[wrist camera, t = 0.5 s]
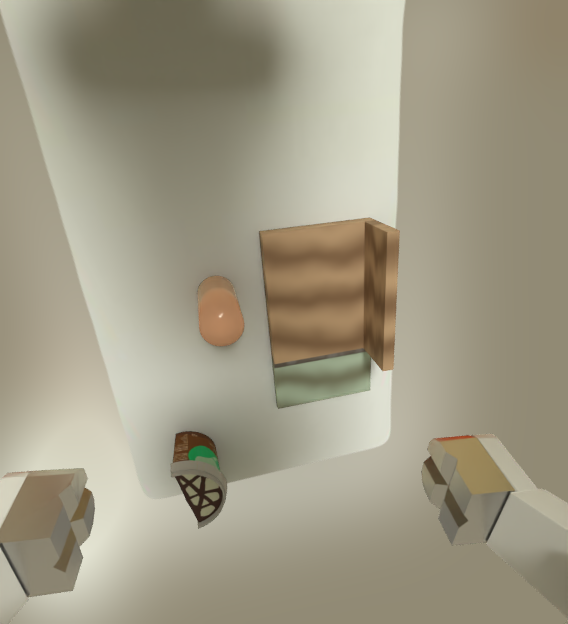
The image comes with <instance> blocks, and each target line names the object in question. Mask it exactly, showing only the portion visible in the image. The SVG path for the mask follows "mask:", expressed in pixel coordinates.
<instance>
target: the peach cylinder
mask: <svg viewBox="0 0 568 624" xmlns="http://www.w3.org/2000/svg"><path fill="white" fill-rule="evenodd" d="M197 295H198V313H199V329H200V333H201V335H202V337H203V338H204V339H205V340H206V341H207V342H208V343H210V344H212V345H215V346H226V345H230V344H232V343H234V342H235V341H237V340H238V339H239V338H240V336H241V335H242V333H243V330H244V320H243V317H242V313H241V310H240V307H239V303H238V300H237V297H236V293H235V290H234V287H233V285H232V283H231V282H230V281H229V280H228V279H226V278H224V277H221V276H211V277H208V278H206V279H205V280H204V281H202V283H201V284H200V285H199V288H198V293H197Z"/></svg>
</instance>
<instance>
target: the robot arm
mask: <svg viewBox="0 0 568 624" xmlns="http://www.w3.org/2000/svg"><path fill="white" fill-rule="evenodd" d="M427 450H428V452H429V453H430V455H431V456H430V457H429V458H428V459H427V460H425V461H424V463H423V467H422V471H421V473H422V483H423V487H424V490H425V493H426V495H427V497H428V499H429V501H430V502H431V503H432V504H434V505H435V506H436V507H438V508H439V509H440V512H439V518H438V519H439V521H440V523H441V525H442V527H443V529H444V531H445V533H446V534H447V537H448V539H449V541H450V543H451V545H452V546H453V545H464V544H476V543H487V544H486V545H487V546H488V547H489V548H490V549H492V550H493V551H494V552H495V553H496V554H497V555H498V556H499V557H500V558H502V559H503V560H504V561H505V562H506V563H507V564H508V565H509V566H510V567H512V568H513V569H514V570H515V571H516V572H517V573H518V574H519V575H521V577H523V578H524V579H525V580H526V581H527V582H528V583H529V584H530V585H532V586H533V587H534V588H535V589H536V590H537V591H538V592H539V593H540V594H541V595H543V596H544V597H545V598H546V599H547V600H548V601H549V602H550V603H552V605H554V606H555V607H556V608H557V609H558V610H559V611H560V612H561V613H563V614H564V615H565V616H566V617H567V618H568V503H566V502H564V501H563V500H561V499H560V498H558V497H556V496H555V495H553V494H552V493H550V492H548V491H547V490H545V489H537V487H536V486H535V485H534V484H533V482H532V481H531V480H530V479H529V477H528V476H527V475H526V473H524V471H523V470H522V468H521V467H520V466H519V465H518V463H517V462H516V461H515V460H514V458H513V457H512V456H511V455H510V453H509V452H508V451H507V449H505V447H504V446H503V444H502V443H501V442H500V441H499V439H498V438H497V437H496V436H494V435H493V434H480V435H471V436H470V435H465V436H455V437H444V438H434V439H432V440H431V441H430V442H429V446H428V449H427ZM86 482H87V475H86V473H85V470H84V469H83V468H76V469H59V470H41V471H27V472H12V473H7V474H6V475H5V476H4V477H2V478H1V479H0V624H9V623H10V622H11V620H12V619H13V618H14V617H15V615H16V614H17V613H18V612H19V611H20V610H21V608H22V607H23V606H24V605H25V604H26V602H27V601H28V598H27V597H33V596H40V595H47V594H54V593H61V592H67V591H73V589H74V585H75V582H76V579H77V575H78V572H79V569H80V566H81V563H82V559H83V556H82V553H81V550H80V546H81V545H82V543H84V541H86V539H87V538H88V537H89V536H90V532H91V529H92V525H93V519H94V511H95V507H94V498H93V494H92V492H91V491H90V490H88V489H86V488H85V484H86ZM564 624H568V620H567V621H566V622H565V623H564Z"/></svg>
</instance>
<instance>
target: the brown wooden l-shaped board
mask: <svg viewBox="0 0 568 624" xmlns="http://www.w3.org/2000/svg"><path fill="white" fill-rule="evenodd" d="M259 233H260V243H261V253H262V263H263V273H264V283H265V293H266V302H267V312H268V322H269V332H270V342H271V352H272V362H273V371H274V381H275V391H276V401H277V406H278V409H279V408H284V407H289V406H294V405H299V404H304V403H309V402H314V401H319V400H324V399H329V398H334V397H339V396H344V395H349V394H354V393H359V392H364V391H369V390H370V369H371V358H372V359H373V360H374V361H375V362H376V364H377V365H378V366H379V367H380V368H381V370H382V371H387V370H392V369H393V364H394V363H393V362H394V342H395V320H396V299H397V277H398V276H397V275H398V254H399V233H400V231H399V230H397V229H395V228H392V227H390V226H388V225H385V224H383V223H381V222H379V221H376V220H374V219H372V218H363V219H354V220H346V221H338V222H330V223H322V224H314V225H306V226H298V227H290V228H282V229H274V230H266V231H259Z"/></svg>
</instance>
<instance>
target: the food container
mask: <svg viewBox="0 0 568 624" xmlns="http://www.w3.org/2000/svg"><path fill="white" fill-rule="evenodd" d="M171 477H175V478H176V479H177V481H178V483H179V485H180V487H181V489H182V492H183V494H184V496H185V498H186V501H187V502H188V504H189V506H190V507H191V509H192V510H193V512H194V514H195V516H196V518H197V520H198V528H201V527H203V526H205V525H207V524H208V523H210V522H211V521H213V520H214V519H215V518H216V517H217V516H218V514H219V513H220V512H221V510H222V507H223V505H224V503H225V499H226V493H227V482H226V479H225V477H224V475H223V474H222V473H221V472H220V468H219V463H218V457H217V452H216V447H215V444H214V443H213V441H212V440H211V439H210V438H209V437H208V436H206V435H204V434H202V433H198V432H181V433H177V434H176V438H175V447H174V456H173V463H171Z"/></svg>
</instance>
